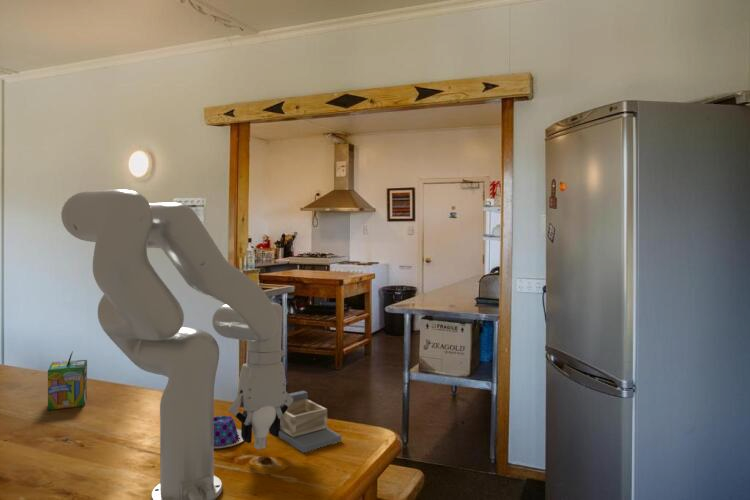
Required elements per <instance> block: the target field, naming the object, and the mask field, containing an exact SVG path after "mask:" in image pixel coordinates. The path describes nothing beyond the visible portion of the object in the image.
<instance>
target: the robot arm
mask: <svg viewBox="0 0 750 500" xmlns="http://www.w3.org/2000/svg"><path fill="white" fill-rule="evenodd" d="M61 208H62V209H61V213H60V214H61V221H62V225H63V227H64V228H65V230H67V232H68V233H69V234H70V235H71V236H73V237H74V238H76V239H78V240H81V241H85V242H90V243H91V242H93V243H95V244H94V249H93V250H94V251H93V258H92V274H93V278H94V280H95V282H96V284H97V287H98V288H99V289H100V291H101V292H102V294H103V295H102V296H101V298H100V301H99V303H98V306H97V317H98V318H97V320H98V322H99V324H100V327H101V328H102V331H103V332H104V333H105V335H106V336H108V338H109V339H110V340H111V341H112V342H113V343H114V344H115V345H116V346H117V348H119V350H120V351H121V352H122V353H123V354H124V356H126V357H127V358H128V359H129V360H130V362H131V363H133V364H134V365H135V366H137V367H138V368H139V369H140V370H142V371H145V372H146V373H147V372H148V373H150V374H151V373H152V374H154V375H155V374H156V375H160V376H164V377H167V379H168V381H167V384H166V385H165V388H164V391H163V392H162V395H161V398H160V402H159V403H160V404H159V417H160V418H159V420H160V421H159V425H160V426H159V431H160V432H159V435H160V436H159V441H160V443H159V447H160V449H159V452H160V453H159V458H160V459H159V462H160V463H159V464H160V466H159V468H160V469H159V470H160V472H159V473H160V475H159V476H160V477H159V478H160V483H159V484H157V485H156V486H155V487H154V488H152V489H153V490H152V491H151V494H150V495H151V497H150V498H151V499H150V500H216V499H218V497H219V496H220V495H221V493H222V491H223V482H222V480H221V479H220V478H219V477H218V476H216V475H215V474H214V473H215V471H214V470H215V469H214V468H215V465H214V462H215V460H214V459H215V458H214V456H215V455H214V454H215V453H214V452H215V451H214V450H215V448H214V447H215V446H214V417H215V413H214V411H215V409H214V407H215V402H214V399H215V394H214V393H215V383H216V375H217V372H218V371H217V370H218V366H219V362H220V361H219V360H220V346H219V344H218V342H217V340H216V339H215V337H214V336H213V335H212V334H210V333H209V332H207V331H206V330H205V331H204V330H203V329H199V328H195V327H186V326H183V325H184V321H185V314H184V310H183V308H182V305H181V303H180V301H179V300H178V299H177V297H175V295H174V294H173V292H172V291H171V290H170V288H168V286H167V285H166V283H165V282H164V281H163V279H162V278H161V277H160V275H159V274H158V273H157V272H156V269H154V267H153V265H152V264H151V262H150V260H149V257H148V249H149V248H150V249H151V248H152V249H161V250H162V251H163V252H164V254H165V255H166V257H167V258H168V259H169V261H170V262H171V263H172V265H173V266H174V267H175V269H176V270H177V271H178V273H179V274H180V276H181V277H182V278H183V281H185V283H186V284H187V285H188V286H189V287H190V288H191V289H193V290H195V291H197V292H198V293H200V294H202V295H205V296H206V297H209V298H211V299H214V300H217V301H218V302H221V303H223V305H221V306H219V307H218V308H217V310H215V312H214V314H213V316H212V320H211V321H212V328H213V329H214V331H215V333H216V334H218V335H220V336H221V337H223V338H226V339H233V340H240V341H247V342H246V361H245V362H246V363H243V364H242V366H241V370H240V374H239V380H238V386H237V395H236V398H235V399H234V400H233V402H232V403H231V404H230V405H229V407H228V409H227V411H228V412H229V413H231V414H232V415H233V416H234V417H235V418H236V419H238V421H239V422H240V423H241V429H240V430H241V437H242V438H243V440H244V441H243V442H245V443H246V444H251V443H252V441H253V440H252V437H253V435H252V434H253V429H252V425H251V424H250V421H251V418H252V416H253V413H254V411H257V410H259V409H261V408H262V407H264V406H272V407H274V408H275V409H276V418H275V420H274V422H273V424H272V425H271V427H270V431H269V434H270V435H271V436H273V437H274V438H280V437H279V431H280V419H281V418H282V417H283V414H284V413H285V411H286V410H287V409H288V407H289V406H290V404H291V403H292V402H293V398H292V397H291V396H290V395H289V394H290V393H288V392H287V389H286V375H285V374H286V373H285V367H284V364H283V361H282V358H283V357H286V355H287V353H286V350H283V349H282V333H283V307H282V305H281V304H280V303H278V302H271V300H270V298H269V296H268V295H267V294H266V292H265V291H264V289H262V287H261V286H260V285H259V284H258V283H256V282H255V281H254V280H253V279H251V278H250V277H249V276H247V275H246V274H245V273H244V272H243V271H241V270H240V269H239V268H237V267H236V266H234V265H233V264H231V263H230V262H229V261H228V260H227V259H226V258H225V257H224V255H223V253H222V252H221V250H220V249H219V247H218V246H217V244H216V243H215V241H214V240H213V237H212V236H211V235H210V233H209V231H208V230H207V228H206V227H205V225H204V224H203V222H202V221H201V220H200V217H199V216H198V215H197V213H196V212H195V211H194V210H193V208H191V207H190V206H189V205H187V204H184V203H181V202H180V203H179V202H155V203H154V202H152V203H151V202H149V201H148V199H147V198H146V197H145V196H144V195H142V194H141V193H140V192H137V191H135V190H129V189H105V190H103V189H102V190H89V191H88V190H87V191H82V192H77V193H75V194H74V195H72V196H70V197H69V198H68V199H67V200H66V201H65V202H64V204H63V206H62V207H61ZM239 408H243V409H242V412H240V411H239Z"/></svg>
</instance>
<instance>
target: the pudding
mask: <svg viewBox="0 0 750 500" xmlns="http://www.w3.org/2000/svg"><path fill="white" fill-rule="evenodd" d="M238 435H239V436H238ZM239 438H240V439H239ZM235 440H236V441H235ZM238 440H239V441H238ZM234 442H236V443H234ZM242 442H245V441H244V440H243V438H242V437H241V429H238V428H237V425H236V421H235V419H234V418H233V417H232V416H230V415H218V416H214V449H223V448H228V447H232V446H236V445H238V444H241V443H242ZM233 443H234V444H233Z"/></svg>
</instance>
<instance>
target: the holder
mask: <svg viewBox="0 0 750 500" xmlns="http://www.w3.org/2000/svg"><path fill="white" fill-rule="evenodd" d="M324 428H328V408H326V407H324V406H322V405H320V404H318V403H316V402H314V401H312V400H311V399H302V400H297V401H293V402H292V403H291V404H290V406H289V407H288V409H287V410H286V411H285V413H284V414H283V417H282V418H281V419H280V429H281V430H282V431H284V432H286V433H287V434H289V435H290V436H292V437H295V436H299V435H302V434H306V433H310V432H313V431H317V430H321V429H324Z"/></svg>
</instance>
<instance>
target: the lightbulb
mask: <svg viewBox="0 0 750 500" xmlns="http://www.w3.org/2000/svg"><path fill="white" fill-rule="evenodd" d="M275 418H276V409H275V408H274V407H272V406H264V407H262V408H261V409H259V410H257V411H254V413H253V416H252V418H251V421H250V424H251V425H252V434H253V436H254V447H253V448H255V449H256V450H258V451H260V450H261V451H262V450H264V449H265V448H266V447H267V440H268V439H267V438H268V435H269V433H270V431H269V428H270V427H271V425H272V424H273V422H274V420H275Z"/></svg>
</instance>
